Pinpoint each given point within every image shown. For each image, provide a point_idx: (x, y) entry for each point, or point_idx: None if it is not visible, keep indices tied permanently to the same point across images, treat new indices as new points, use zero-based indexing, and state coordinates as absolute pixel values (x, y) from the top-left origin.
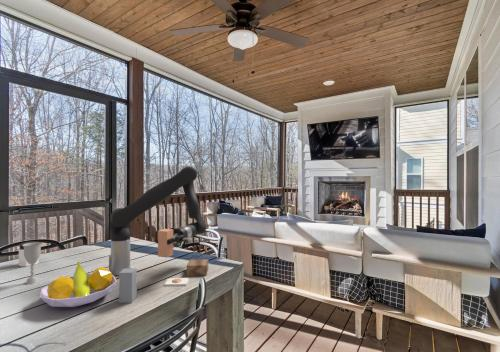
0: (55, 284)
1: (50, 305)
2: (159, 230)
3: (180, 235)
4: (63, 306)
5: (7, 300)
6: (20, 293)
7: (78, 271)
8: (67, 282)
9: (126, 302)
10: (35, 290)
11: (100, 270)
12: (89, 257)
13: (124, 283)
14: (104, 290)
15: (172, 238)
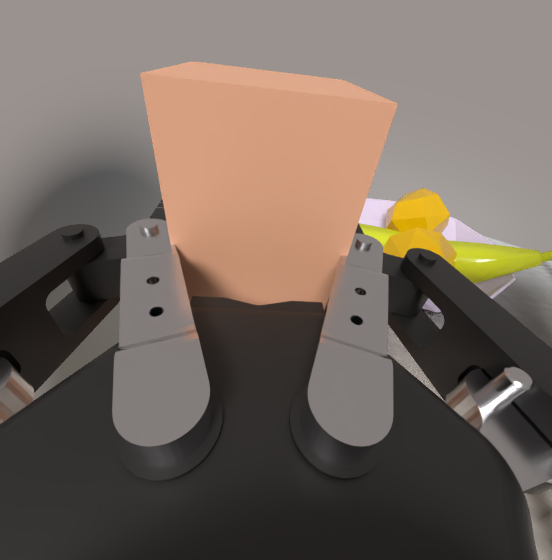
0: (410, 192)
1: (383, 218)
2: (343, 82)
3: (9, 429)
4: (362, 223)
5: (507, 245)
6: (541, 265)
7: (492, 245)
8: (404, 200)
9: None
10: (544, 279)
11: (414, 231)
12: None
13: None
14: None
15: (163, 218)
